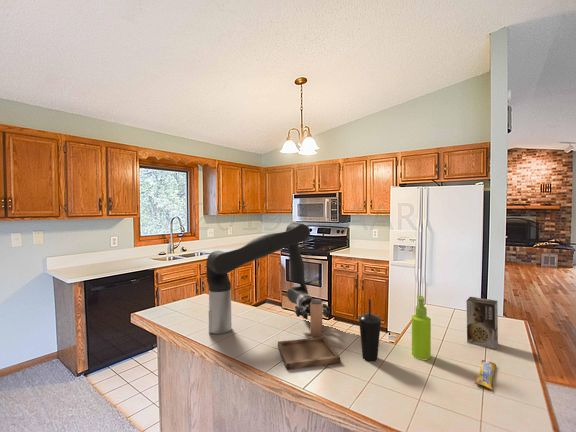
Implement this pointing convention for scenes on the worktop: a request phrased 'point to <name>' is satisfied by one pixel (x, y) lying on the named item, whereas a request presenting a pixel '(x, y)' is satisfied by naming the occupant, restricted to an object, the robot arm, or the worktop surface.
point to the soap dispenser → (421, 332)
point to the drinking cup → (369, 334)
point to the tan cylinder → (316, 318)
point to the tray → (307, 353)
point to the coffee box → (482, 322)
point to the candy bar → (486, 374)
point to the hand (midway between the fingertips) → (317, 316)
